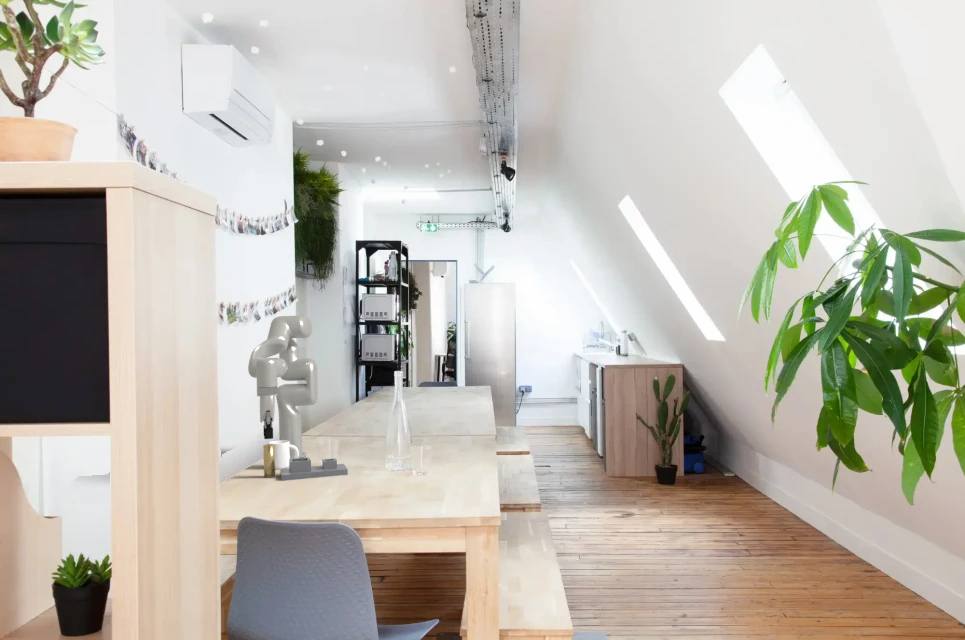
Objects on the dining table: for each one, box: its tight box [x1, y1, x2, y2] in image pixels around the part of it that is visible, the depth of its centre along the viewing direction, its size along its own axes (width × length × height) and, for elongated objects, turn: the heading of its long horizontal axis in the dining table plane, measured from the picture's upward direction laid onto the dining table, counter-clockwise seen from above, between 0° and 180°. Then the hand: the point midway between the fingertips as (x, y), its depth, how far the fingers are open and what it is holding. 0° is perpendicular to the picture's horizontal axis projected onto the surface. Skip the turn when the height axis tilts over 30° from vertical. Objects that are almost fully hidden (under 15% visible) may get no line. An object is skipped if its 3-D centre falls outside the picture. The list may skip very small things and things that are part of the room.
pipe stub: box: [262, 443, 276, 479], centre depth 274 cm, size 4×4×12 cm
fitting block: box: [279, 456, 349, 481], centre depth 276 cm, size 12×24×6 cm, turn 108°
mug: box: [267, 440, 299, 470], centre depth 292 cm, size 12×8×10 cm
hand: (268, 437), depth 274 cm, fingers open, 9 cm apart
